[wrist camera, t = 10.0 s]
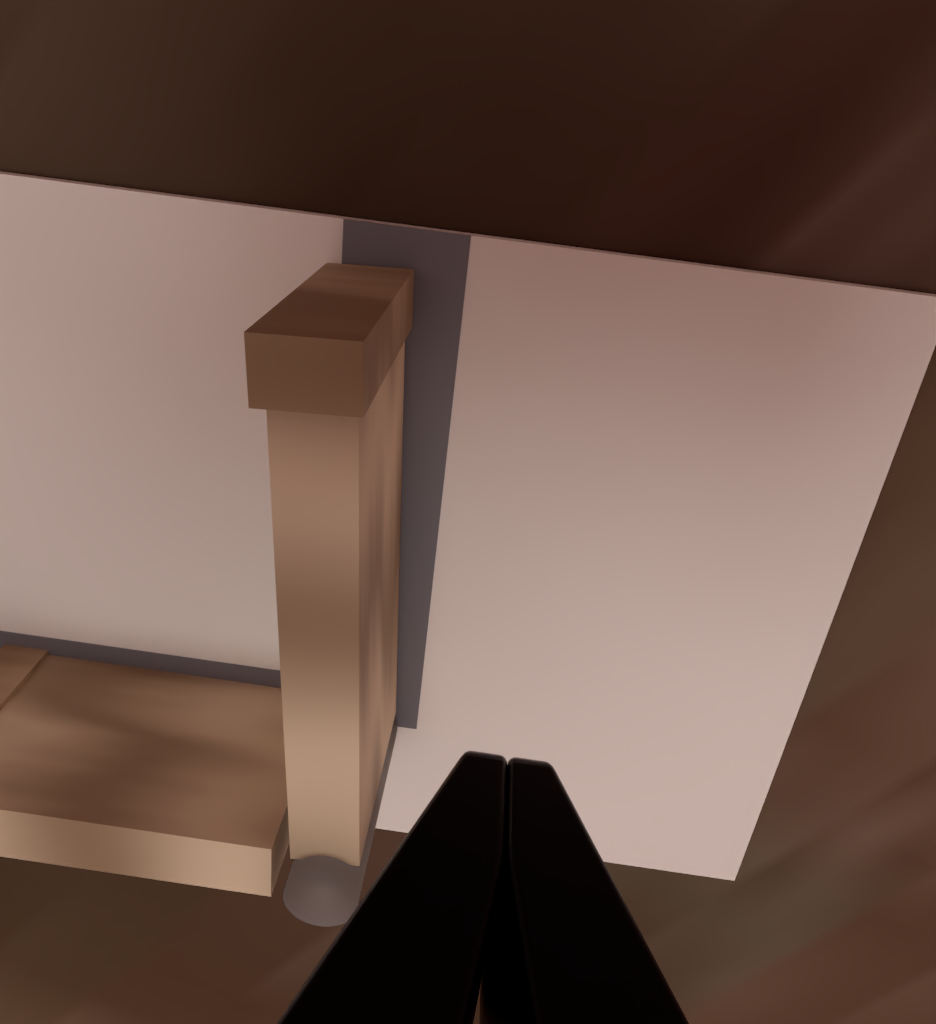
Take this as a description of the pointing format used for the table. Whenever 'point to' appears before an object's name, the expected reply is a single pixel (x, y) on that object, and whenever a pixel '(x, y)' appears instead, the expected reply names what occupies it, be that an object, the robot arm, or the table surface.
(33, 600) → the board
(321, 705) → the brown tall flat block
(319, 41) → the table surface
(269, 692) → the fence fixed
